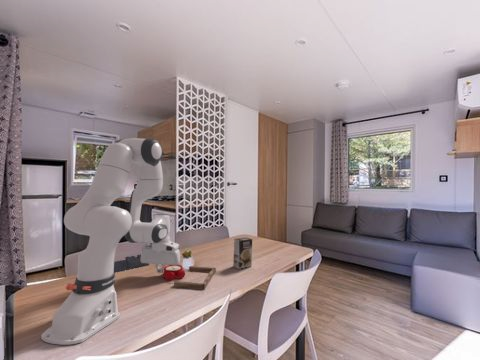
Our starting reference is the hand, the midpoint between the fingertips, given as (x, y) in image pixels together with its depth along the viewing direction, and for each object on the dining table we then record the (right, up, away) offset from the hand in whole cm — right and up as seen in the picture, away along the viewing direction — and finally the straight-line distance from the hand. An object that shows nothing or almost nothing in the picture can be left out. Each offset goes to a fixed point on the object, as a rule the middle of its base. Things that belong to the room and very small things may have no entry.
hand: (160, 272), depth 120 cm
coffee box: (+43, -3, +17) cm, 46 cm away
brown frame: (+18, -2, -2) cm, 19 cm away
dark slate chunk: (-23, -2, +13) cm, 27 cm away
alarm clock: (+7, -2, -1) cm, 8 cm away
